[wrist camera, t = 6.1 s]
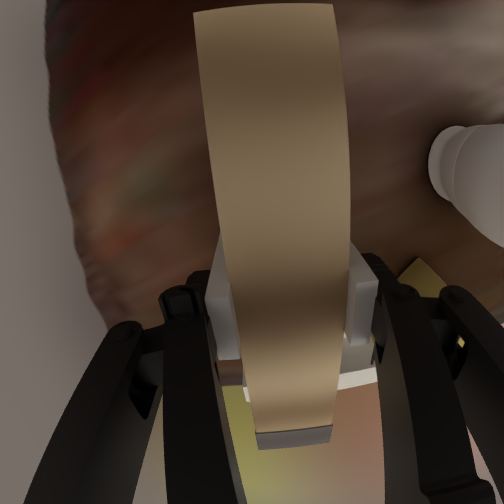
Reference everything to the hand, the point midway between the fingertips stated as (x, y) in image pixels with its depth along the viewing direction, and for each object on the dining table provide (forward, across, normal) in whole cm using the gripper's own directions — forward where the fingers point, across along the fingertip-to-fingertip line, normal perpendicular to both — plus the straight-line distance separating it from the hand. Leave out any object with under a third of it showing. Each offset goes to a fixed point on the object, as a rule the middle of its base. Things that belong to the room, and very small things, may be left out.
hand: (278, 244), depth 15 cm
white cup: (+13, +21, +2) cm, 24 cm away
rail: (0, 0, 0) cm, 0 cm away
